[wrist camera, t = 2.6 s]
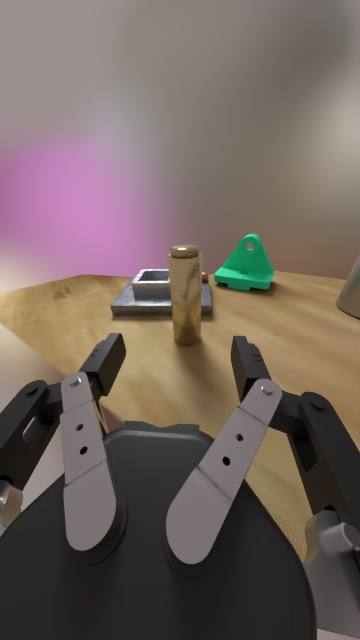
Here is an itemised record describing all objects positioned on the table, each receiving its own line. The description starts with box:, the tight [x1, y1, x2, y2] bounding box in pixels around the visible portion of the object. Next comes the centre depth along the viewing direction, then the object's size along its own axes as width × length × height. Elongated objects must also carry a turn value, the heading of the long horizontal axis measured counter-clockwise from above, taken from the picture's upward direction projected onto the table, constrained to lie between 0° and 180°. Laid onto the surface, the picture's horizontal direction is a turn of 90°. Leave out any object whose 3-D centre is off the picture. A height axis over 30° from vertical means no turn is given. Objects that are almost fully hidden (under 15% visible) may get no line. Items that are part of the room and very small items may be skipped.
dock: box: [110, 269, 212, 315], centre depth 37 cm, size 18×14×4 cm
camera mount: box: [214, 234, 274, 291], centre depth 41 cm, size 12×8×10 cm, turn 61°
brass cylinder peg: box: [168, 245, 203, 346], centre depth 24 cm, size 4×4×13 cm
